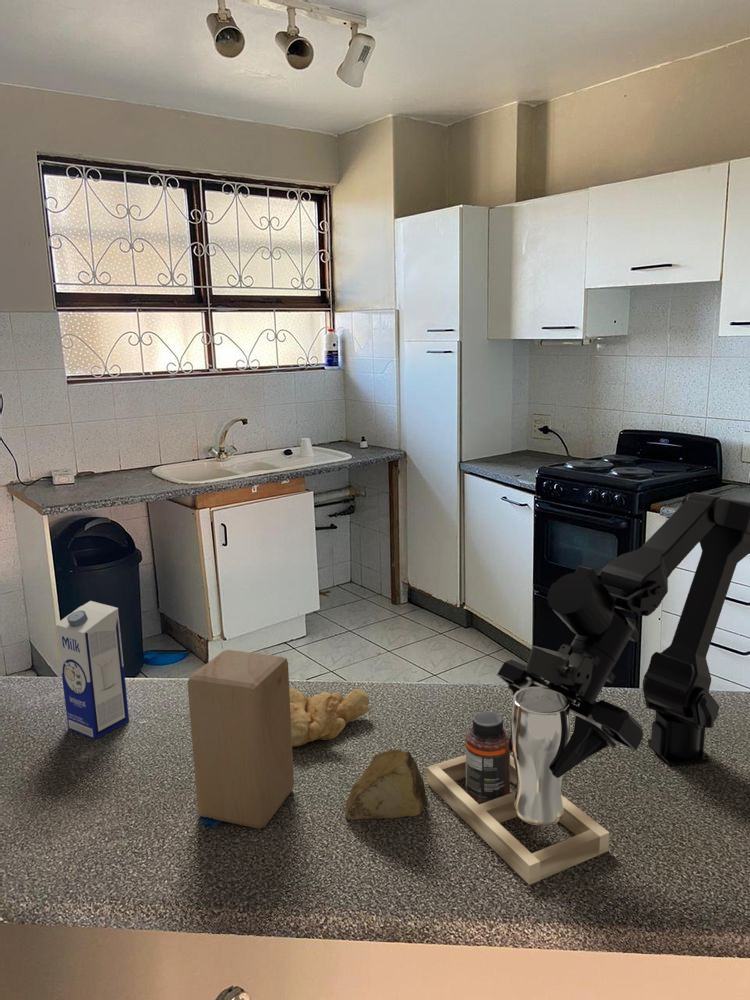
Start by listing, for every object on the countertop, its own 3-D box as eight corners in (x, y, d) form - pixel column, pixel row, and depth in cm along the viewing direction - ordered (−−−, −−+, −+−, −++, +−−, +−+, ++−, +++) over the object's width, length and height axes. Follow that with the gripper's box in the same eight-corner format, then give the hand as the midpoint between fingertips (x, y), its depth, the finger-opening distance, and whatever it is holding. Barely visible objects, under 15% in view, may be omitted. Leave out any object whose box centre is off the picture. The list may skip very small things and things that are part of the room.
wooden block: (297, 788, 103) (290, 654, 99) (263, 833, 94) (254, 687, 90) (233, 776, 107) (224, 646, 102) (195, 818, 98) (183, 677, 93)
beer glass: (579, 815, 91) (584, 702, 87) (537, 836, 87) (540, 720, 84) (538, 786, 96) (541, 680, 93) (497, 805, 93) (499, 695, 89)
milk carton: (130, 721, 123) (118, 606, 118) (95, 740, 117) (82, 620, 113) (102, 710, 126) (90, 599, 122) (67, 728, 121) (53, 612, 117)
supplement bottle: (494, 776, 105) (495, 703, 103) (518, 799, 100) (520, 723, 98) (457, 787, 103) (457, 712, 101) (480, 811, 98) (480, 733, 95)
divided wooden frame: (426, 783, 104) (426, 767, 104) (496, 760, 109) (497, 744, 109) (529, 885, 84) (529, 865, 84) (608, 850, 90) (609, 832, 89)
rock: (328, 816, 94) (402, 823, 90) (336, 745, 97) (408, 749, 94) (361, 822, 103) (430, 828, 99) (367, 757, 106) (434, 760, 103)
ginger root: (240, 742, 113) (245, 689, 113) (287, 717, 128) (292, 671, 128) (333, 764, 108) (339, 709, 108) (372, 735, 123) (377, 687, 123)
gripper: (507, 600, 96) (444, 705, 92) (633, 646, 81) (563, 773, 77) (547, 641, 102) (489, 741, 98) (670, 690, 88) (608, 810, 84)
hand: (532, 763), depth 89 cm, fingers closed on beer glass, 6 cm apart
